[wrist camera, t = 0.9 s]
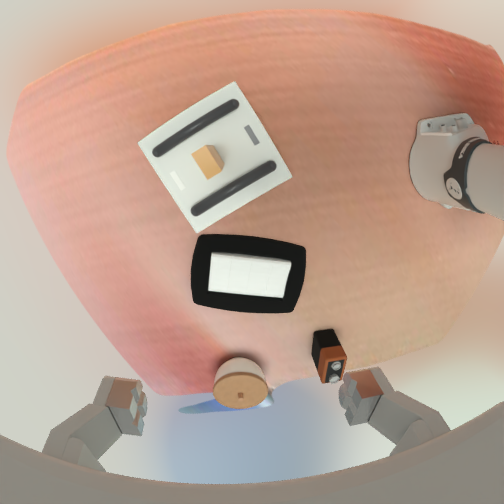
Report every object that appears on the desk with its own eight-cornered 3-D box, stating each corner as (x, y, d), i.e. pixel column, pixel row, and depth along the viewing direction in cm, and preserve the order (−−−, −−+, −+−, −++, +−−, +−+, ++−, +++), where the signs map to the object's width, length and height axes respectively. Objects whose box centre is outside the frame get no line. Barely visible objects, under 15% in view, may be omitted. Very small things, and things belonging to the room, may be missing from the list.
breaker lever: (213, 145, 36) (205, 145, 25) (224, 163, 37) (221, 171, 26) (203, 151, 37) (191, 154, 25) (214, 169, 38) (207, 179, 26)
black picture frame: (313, 245, 47) (297, 319, 51) (308, 241, 50) (294, 312, 54) (193, 231, 45) (187, 309, 48) (195, 227, 48) (189, 302, 51)
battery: (310, 355, 58) (322, 388, 49) (313, 330, 56) (327, 363, 46) (330, 352, 58) (343, 384, 49) (333, 328, 56) (349, 359, 46)
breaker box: (234, 87, 38) (234, 78, 32) (286, 173, 44) (295, 178, 38) (147, 142, 40) (133, 142, 34) (200, 224, 46) (195, 237, 40)
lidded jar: (261, 383, 60) (266, 414, 51) (214, 382, 59) (213, 414, 50) (266, 348, 56) (271, 381, 48) (213, 348, 55) (211, 381, 47)
